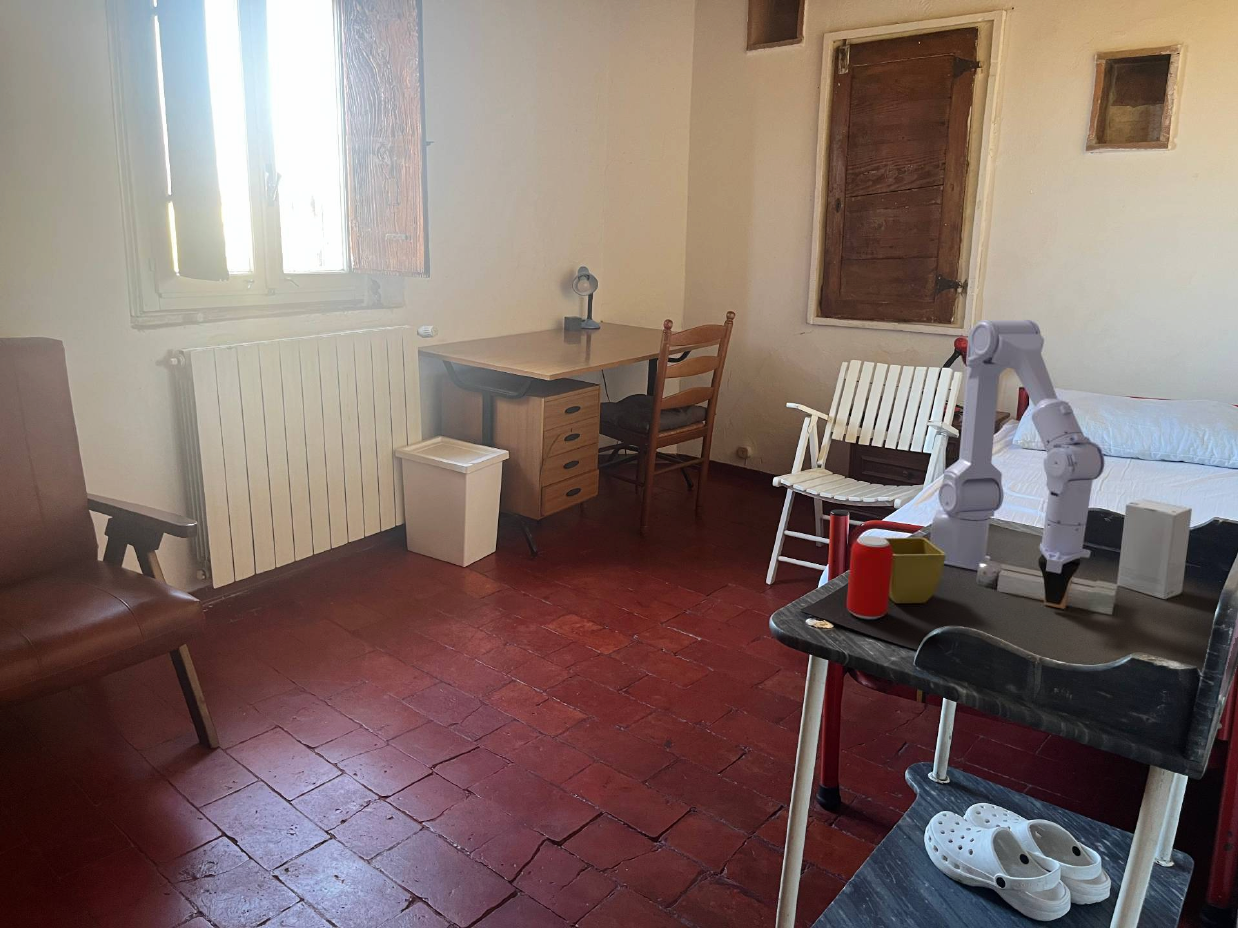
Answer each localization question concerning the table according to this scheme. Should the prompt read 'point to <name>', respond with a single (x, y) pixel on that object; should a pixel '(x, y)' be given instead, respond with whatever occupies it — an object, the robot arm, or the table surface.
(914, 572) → the flower pot
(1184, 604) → the table surface
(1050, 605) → the block
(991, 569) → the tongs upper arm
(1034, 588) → the tongs lower arm
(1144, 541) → the skincare box
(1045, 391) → the robot arm
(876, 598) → the beverage can
